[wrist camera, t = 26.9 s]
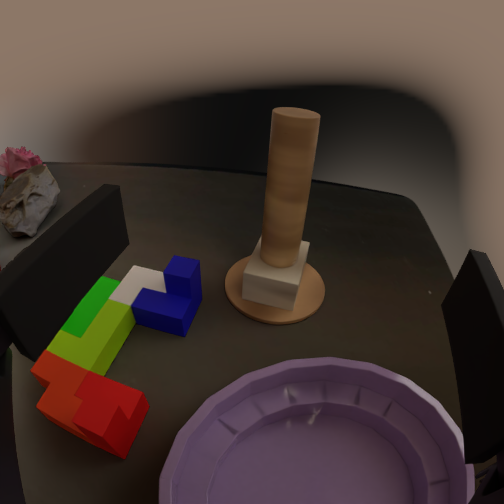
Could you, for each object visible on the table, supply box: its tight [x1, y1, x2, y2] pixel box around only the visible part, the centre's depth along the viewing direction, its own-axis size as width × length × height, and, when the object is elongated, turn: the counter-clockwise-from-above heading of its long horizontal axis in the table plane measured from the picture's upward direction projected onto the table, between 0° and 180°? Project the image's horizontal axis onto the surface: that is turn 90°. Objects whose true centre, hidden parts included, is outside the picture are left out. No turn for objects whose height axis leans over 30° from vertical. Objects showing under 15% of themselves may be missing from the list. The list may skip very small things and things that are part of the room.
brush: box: [242, 107, 320, 311], centre depth 24 cm, size 6×4×15 cm
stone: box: [0, 164, 60, 237], centre depth 33 cm, size 11×7×10 cm
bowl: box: [159, 357, 475, 504], centre depth 12 cm, size 16×16×4 cm
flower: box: [0, 147, 46, 191], centre depth 41 cm, size 11×10×10 cm
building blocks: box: [30, 255, 202, 459], centre depth 21 cm, size 15×13×4 cm
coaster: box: [225, 255, 325, 325], centre depth 29 cm, size 9×9×1 cm
